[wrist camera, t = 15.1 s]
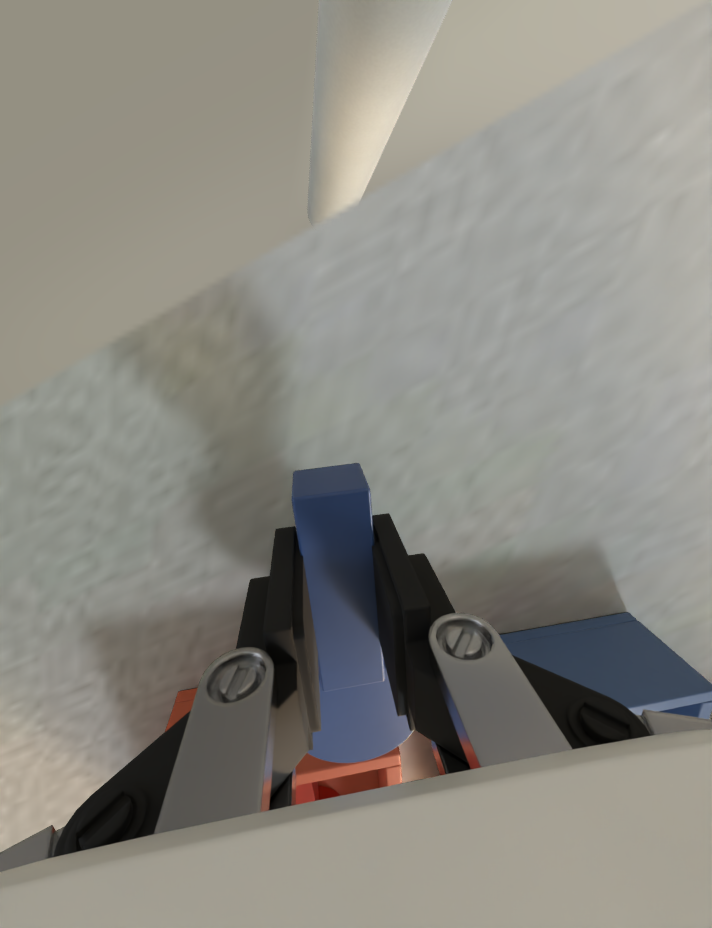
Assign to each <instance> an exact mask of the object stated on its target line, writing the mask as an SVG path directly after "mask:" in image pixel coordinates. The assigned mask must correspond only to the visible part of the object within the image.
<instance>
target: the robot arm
mask: <svg viewBox="0 0 712 928" xmlns="http://www.w3.org/2000/svg"><path fill="white" fill-rule="evenodd" d="M372 519H373V532H374V545H373V546H372V556H373V568H374V580H375V593H376V605H377V617H378V629H379V641H380V645H381V649H382V653H383V658H384V662H385V666H386V670H387V674H388V678H389V683H390V687H391V691H392V695H393V699H394V703H395V708H396V712H397V715H398V716H404V715H406V717H407V721H408V725H409V729H410V731H414V730H416V731H418V732H419V733H421V734H422V735H424V736H426V737H427V738H429V739H430V740H431V744H432V750H433V753H434V757H435V760H436V763H437V766H438V769H439V772H440V776H436V777H431V778H426V779H421V780H416V781H411V782H406V783H401V784H396V785H391V786H386V787H381V788H376V789H371V790H367V791H362V792H357V793H352V794H347V795H342V796H337V797H332V798H327V799H322V800H317V801H312V802H308V803H303V804H298V805H296V769H295V767H296V766H297V765H298V763H299V762H300V761H301V760H302V758H303V757H304V756H305V755H306V753H307V752H308V751H309V750H313V732H318V731H321V711H320V690H319V669H318V650H317V643H316V637H315V631H314V624H313V618H312V611H311V605H310V599H309V592H308V586H307V579H306V573H305V566H304V560H303V556H301V555H300V550H299V544H298V537H297V531H296V527H295V526H293V527H286V528H279V529H276V530H275V538H274V546H273V554H272V562H271V570H270V576H267V577H261V578H254V579H251V580H250V583H249V587H248V592H247V597H246V602H245V607H244V612H243V617H242V622H241V626H240V631H239V636H238V641H237V646H236V649H235V650H232V651H230V652H228V653H226V654H224V655H222V656H220V657H219V658H218V659H216V660H215V661H214V662H213V663H211V665H210V666H209V667H208V668H207V669H206V671H205V672H204V673H203V676H202V678H201V680H200V682H199V685H198V688H197V692H196V695H195V698H194V702H193V705H192V708H191V710H190V711H189V712H188V713H187V714H186V715H184V716H183V717H182V718H181V719H180V720H179V721H177V722H176V723H175V724H174V725H173V726H172V727H170V728H169V729H168V730H167V731H166V732H165V733H163V734H162V735H161V736H160V737H159V738H158V739H156V740H155V741H154V742H153V743H152V744H151V745H149V746H148V747H147V748H146V749H145V750H144V751H142V752H141V753H140V754H139V755H138V756H137V757H136V758H134V759H133V760H132V761H131V762H130V763H129V764H127V765H126V766H125V767H124V768H123V769H122V770H120V771H119V772H118V773H117V774H116V775H115V776H113V777H112V778H111V779H110V780H109V781H108V782H106V783H105V784H104V785H103V786H102V787H101V788H99V789H98V790H97V791H96V792H95V793H94V794H92V795H91V796H90V797H89V798H88V799H87V800H86V801H85V802H84V803H83V804H82V805H81V806H80V807H79V808H78V809H77V810H76V812H75V813H74V815H73V816H72V817H71V819H70V820H69V822H68V823H67V824H66V826H65V827H63V828H61V829H59V830H57V831H56V830H55V829H54V827H53V825H51V826H49V827H47V828H46V829H44V830H42V831H40V832H38V833H36V834H34V835H32V836H30V837H29V838H27V839H25V840H23V841H21V842H19V843H17V844H15V845H13V846H12V847H10V848H8V849H6V850H4V851H2V852H0V928H712V720H711V719H704V718H698V717H691V716H684V715H678V714H671V713H665V712H658V711H652V710H645V709H643V712H642V716H641V715H635V714H634V713H633V712H632V711H630V710H629V709H628V708H627V707H625V706H624V705H623V704H621V703H619V702H617V701H616V700H614V699H612V698H610V697H608V696H606V695H603V694H601V693H599V692H597V691H594V690H592V689H590V688H587V687H585V686H583V685H580V684H578V683H576V682H574V681H571V680H569V679H567V678H564V677H562V676H560V675H557V674H555V673H553V672H550V671H548V670H546V669H544V668H541V667H539V666H537V665H534V664H532V663H530V662H527V661H525V660H523V659H520V658H518V657H516V656H514V655H512V654H511V653H510V651H509V650H508V648H507V647H506V645H505V644H504V642H503V640H502V639H501V637H500V636H499V634H498V633H497V631H496V630H495V629H494V628H493V627H492V626H491V624H489V623H488V622H486V621H485V620H483V619H482V618H479V617H477V616H474V615H471V614H465V613H456V612H455V610H454V609H453V607H452V605H451V603H450V601H449V599H448V597H447V595H446V593H445V591H444V589H443V588H442V586H441V584H440V582H439V580H438V578H437V576H436V574H435V572H434V570H433V569H432V567H431V565H430V563H429V561H428V559H427V557H426V556H425V554H423V553H422V554H415V555H409V556H408V554H407V552H406V550H405V548H404V546H403V543H402V541H401V539H400V537H399V534H398V532H397V530H396V528H395V525H394V523H393V521H392V519H391V517H390V514H389V513H388V514H380V515H373V516H372Z"/></svg>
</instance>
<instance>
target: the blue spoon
mask: <svg viewBox="0 0 712 928" xmlns="http://www.w3.org/2000/svg"><path fill="white" fill-rule="evenodd" d="M292 506H293V512H294V519H295V525H296V531H297V537H298V544H299V550H300V555H301V556H303V560H304V566H305V573H306V579H307V586H308V592H309V599H310V605H311V611H312V618H313V624H314V631H315V637H316V643H317V650H318V669H319V690H320V711H321V731H318V732H313V750H309V751H308V752H307V753H308V754H310V755H312V756H314V757H316V758H319V759H321V760H325V761H329V762H336V763H355V762H362V761H366V760H370V759H373V758H376V757H379V756H381V755H384V754H386V753H388V752H390V751H392V750H393V749H395V748H396V747H398V746H399V745H400V744H402V743H403V742H404V741H405V740H406V739H407V738H408V737H409V736H410V735H411V734H412V732H413V731H410V729H409V725H408V721H407V717H406V715H404V716H398V715H397V712H396V708H395V703H394V699H393V695H392V691H391V687H390V683H389V678H388V674H387V670H386V666H385V662H384V658H383V653H382V649H381V645H380V641H379V629H378V617H377V605H376V593H375V580H374V568H373V556H372V546H373V545H374V532H373V519H372V507H371V494H370V488H369V486H368V483H367V481H366V479H365V476H364V474H363V471H362V469H361V466H360V464H359V463H354V464H346V465H338V466H330V467H322V468H314V469H306V470H298V471H294V473H293V485H292Z"/></svg>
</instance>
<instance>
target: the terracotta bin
mask: <svg viewBox="0 0 712 928" xmlns="http://www.w3.org/2000/svg"><path fill="white" fill-rule="evenodd" d="M196 692H197V688H195V689H189V690H183V691H179V692H178V694H177V697H176V700H175V704H174V707H173V710H172V713H171V716H170V719H169V722H168V725H167V728H166V730H165V732H166V731H167V730H168V729H169V728H170V727H172V726H173V725H174V724H175V723H176V722H177V721H179V720H180V719H181V718H182V717H183V716H184V715H186V714H187V713H188V712H189V711H190V710H191V708H192V705H193V702H194V698H195V695H196ZM295 769H296V786H297V785H302V784H307V783H312V782H317V781H318V785H319V786H325V787H328V788H331V789H333V790H335V791H336V792H338V793H339V794H340V795H341V796H342V795H347V794H352V793H357V792H362V791H367V790H371V789H376V788H381V787H386V786H391V785H396V784H401V783H402V773H401V759H400V751H399V747H396V748H395V749H393V750H392V751H390V752H388V753H386V754H384V755H381V756H379V757H376V758H373V759H370V760H366V761H362V762H355V763H336V762H329V761H325V760H321V759H319V758H316V757H314V756H312V755H310V754H308V753H306V755H305V756H304V757H303V758H302V760H301V761H300V762H299V763H298V765H297V766H296V767H295Z"/></svg>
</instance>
